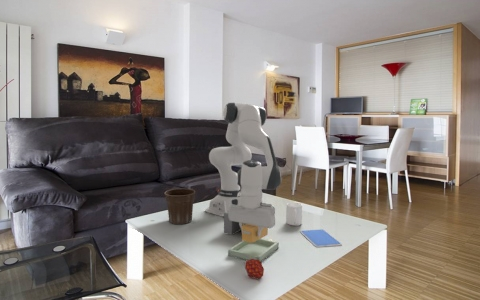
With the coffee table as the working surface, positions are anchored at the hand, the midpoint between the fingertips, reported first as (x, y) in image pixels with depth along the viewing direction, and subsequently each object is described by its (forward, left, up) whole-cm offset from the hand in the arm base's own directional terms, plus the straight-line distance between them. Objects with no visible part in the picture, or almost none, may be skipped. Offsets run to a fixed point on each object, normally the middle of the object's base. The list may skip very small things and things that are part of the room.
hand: (251, 234), depth 131 cm
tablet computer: (+18, +33, -9) cm, 39 cm away
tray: (0, +3, -8) cm, 9 cm away
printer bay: (-15, +20, -8) cm, 26 cm away
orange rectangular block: (0, +3, -2) cm, 4 cm away
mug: (+1, +45, -9) cm, 46 cm away
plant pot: (-53, +17, -9) cm, 56 cm away
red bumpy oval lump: (+10, -15, -9) cm, 20 cm away
